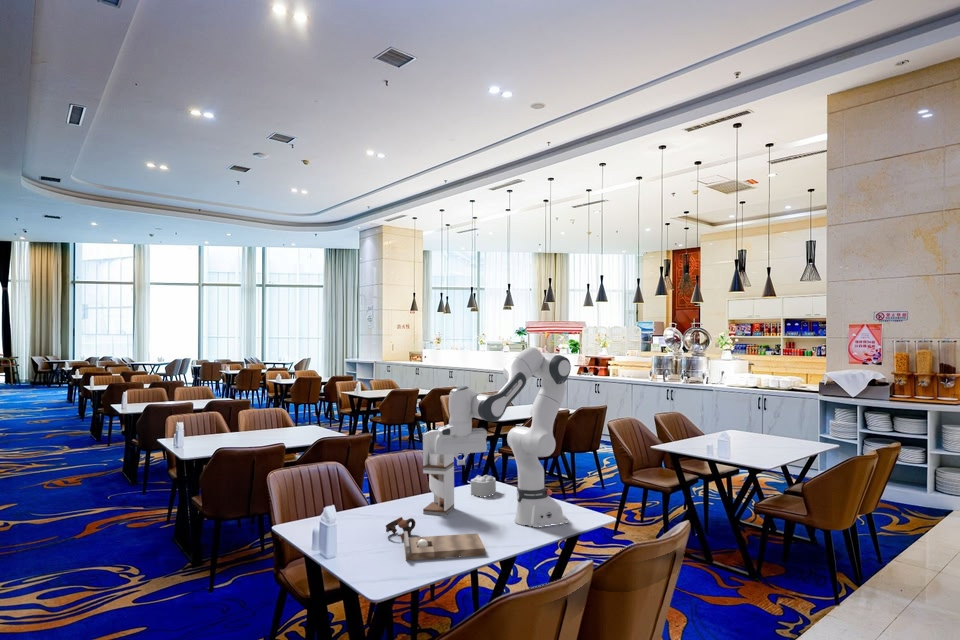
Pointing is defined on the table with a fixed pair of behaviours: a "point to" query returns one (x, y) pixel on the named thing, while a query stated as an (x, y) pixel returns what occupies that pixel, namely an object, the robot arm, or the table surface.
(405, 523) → the brown looped piece
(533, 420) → the robot arm
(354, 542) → the table surface
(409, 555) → the board
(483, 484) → the lumpy-topped squat cylinder
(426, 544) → the ball
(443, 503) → the white shelf tower
